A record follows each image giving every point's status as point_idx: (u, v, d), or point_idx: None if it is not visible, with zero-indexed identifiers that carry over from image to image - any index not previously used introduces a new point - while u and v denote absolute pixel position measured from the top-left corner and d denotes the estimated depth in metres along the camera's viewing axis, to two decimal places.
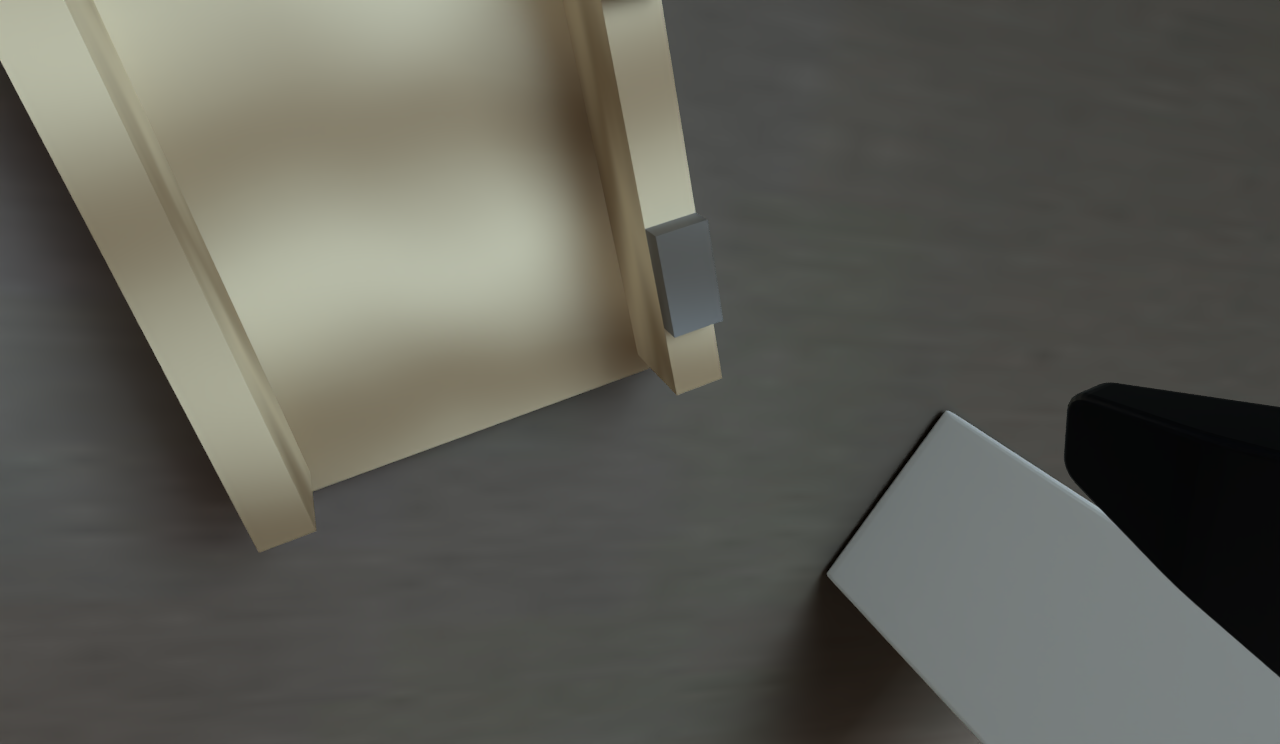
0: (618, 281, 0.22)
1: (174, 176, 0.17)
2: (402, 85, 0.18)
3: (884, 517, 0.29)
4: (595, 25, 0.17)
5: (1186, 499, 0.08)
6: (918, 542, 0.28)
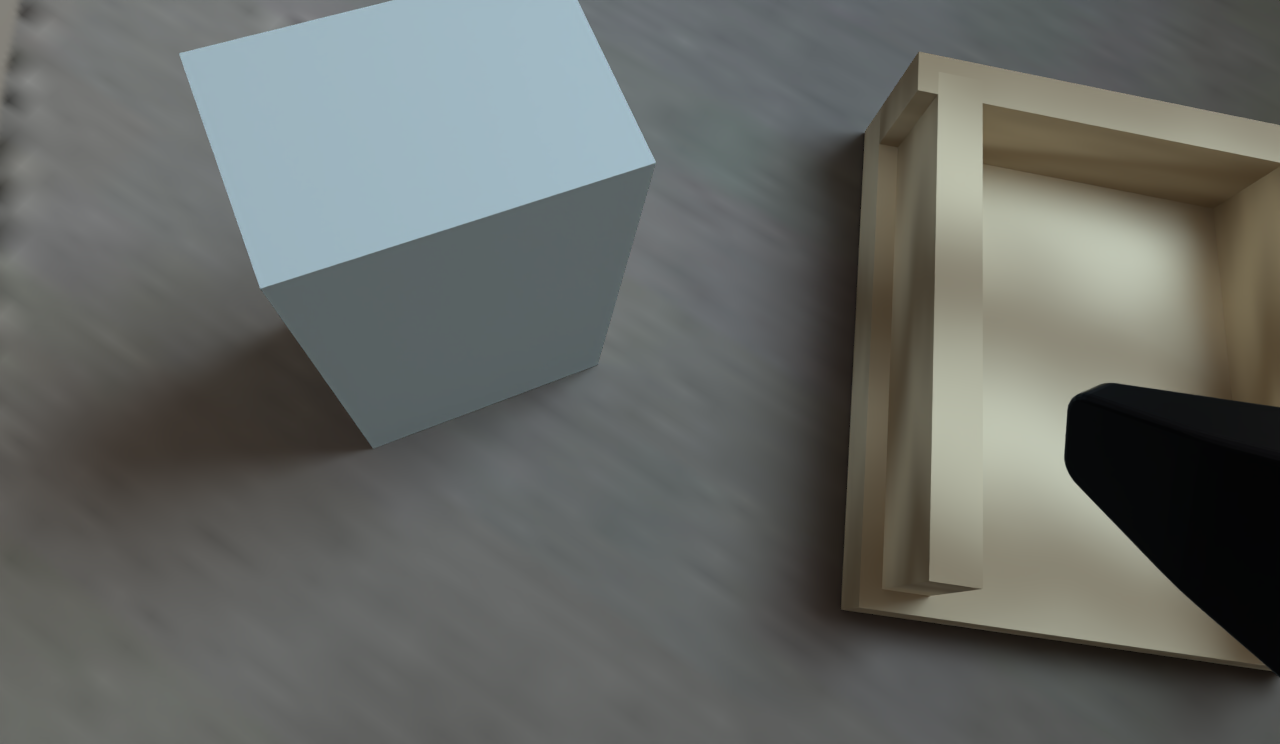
0: None
1: None
2: (1101, 327, 0.24)
3: None
4: None
5: (1187, 500, 0.08)
6: None
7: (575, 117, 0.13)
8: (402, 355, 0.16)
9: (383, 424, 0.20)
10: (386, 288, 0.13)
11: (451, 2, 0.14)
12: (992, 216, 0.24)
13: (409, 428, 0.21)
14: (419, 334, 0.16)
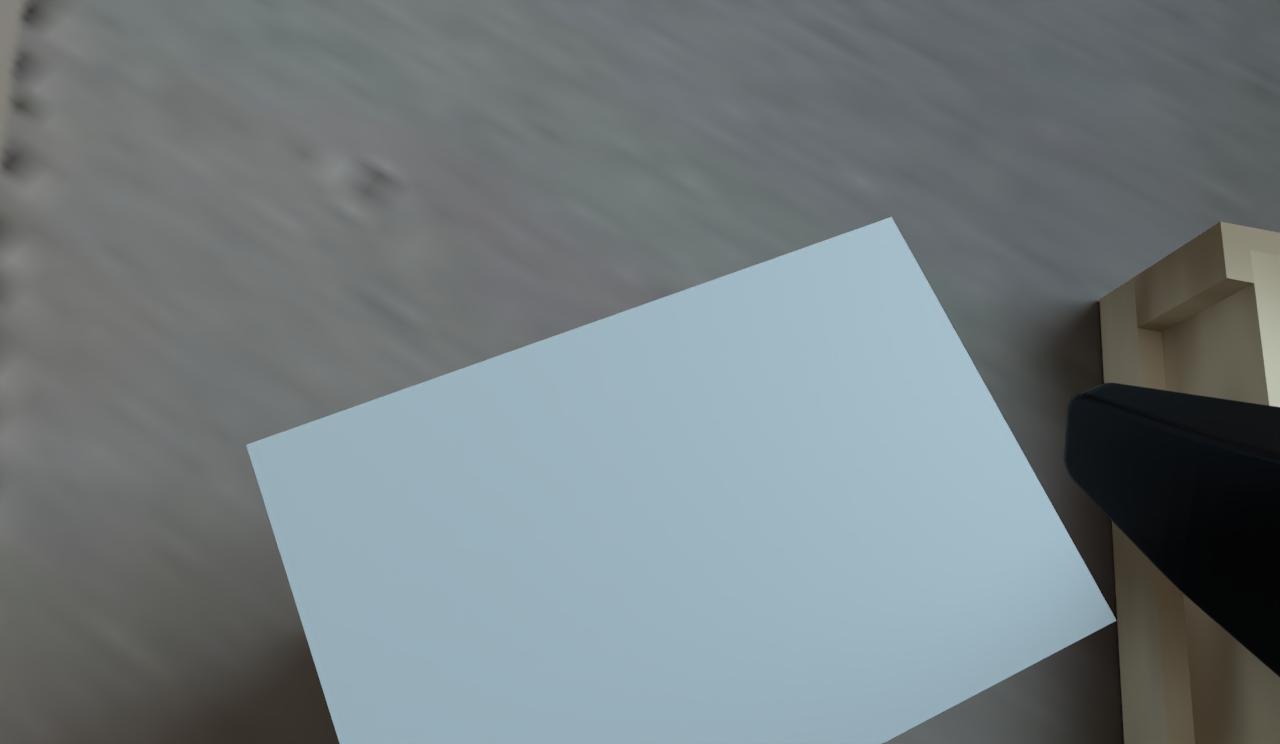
0: None
1: None
2: None
3: None
4: None
5: (1186, 499, 0.08)
6: None
7: (964, 532, 0.07)
8: None
9: None
10: None
11: (725, 308, 0.08)
12: None
13: None
14: None
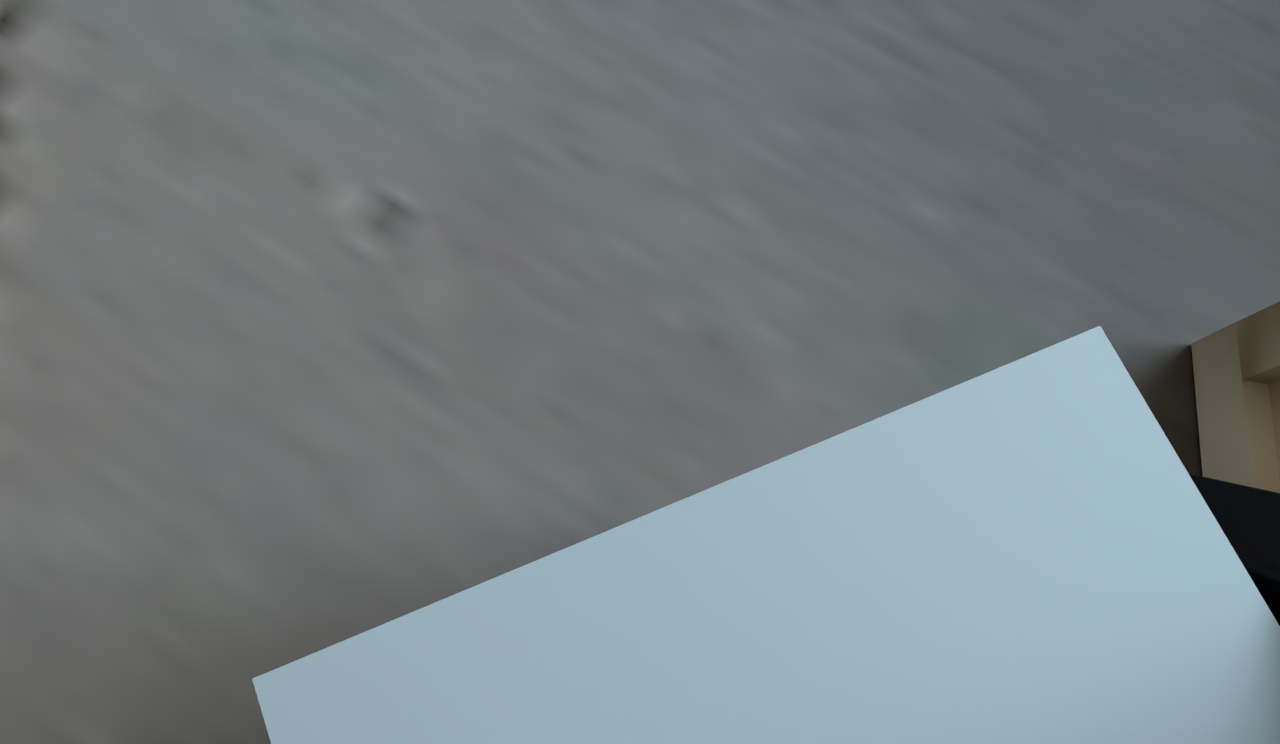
0: None
1: None
2: None
3: None
4: None
5: None
6: None
7: None
8: None
9: None
10: None
11: (894, 458, 0.06)
12: None
13: None
14: None
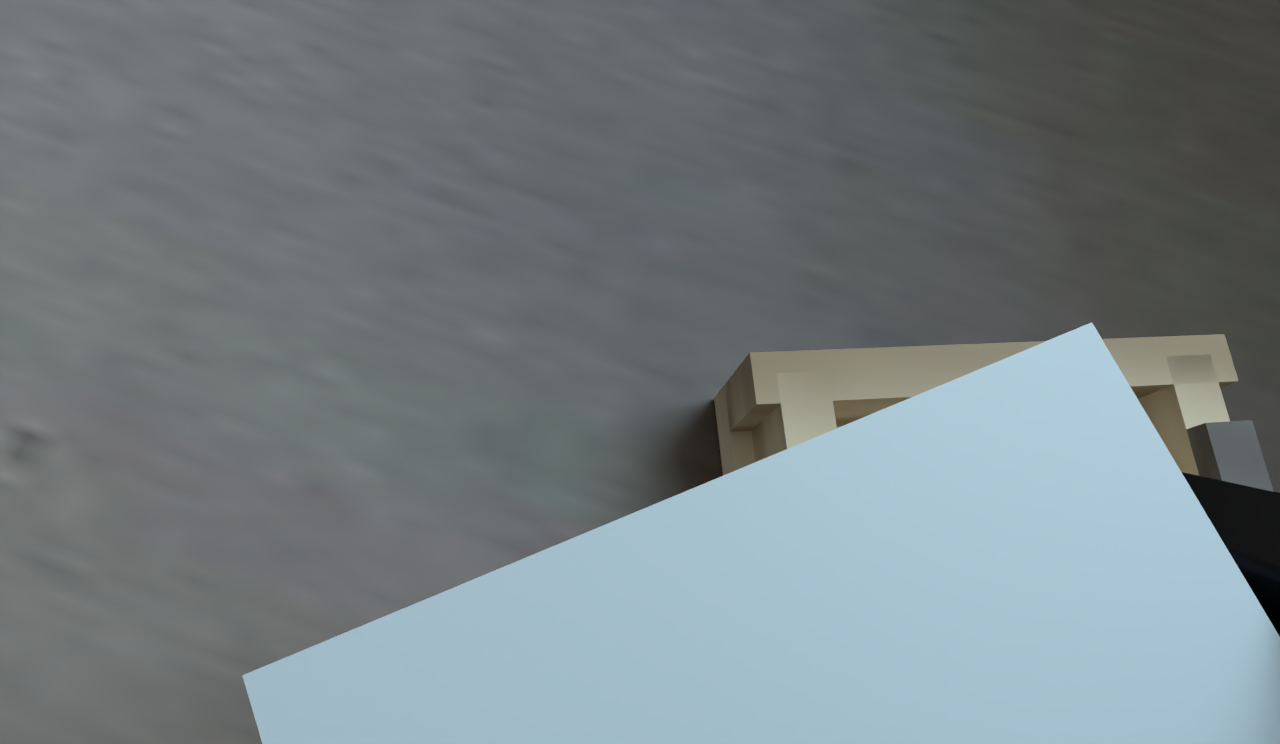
0: None
1: None
2: None
3: None
4: None
5: None
6: None
7: None
8: None
9: None
10: None
11: (886, 455, 0.06)
12: None
13: None
14: None
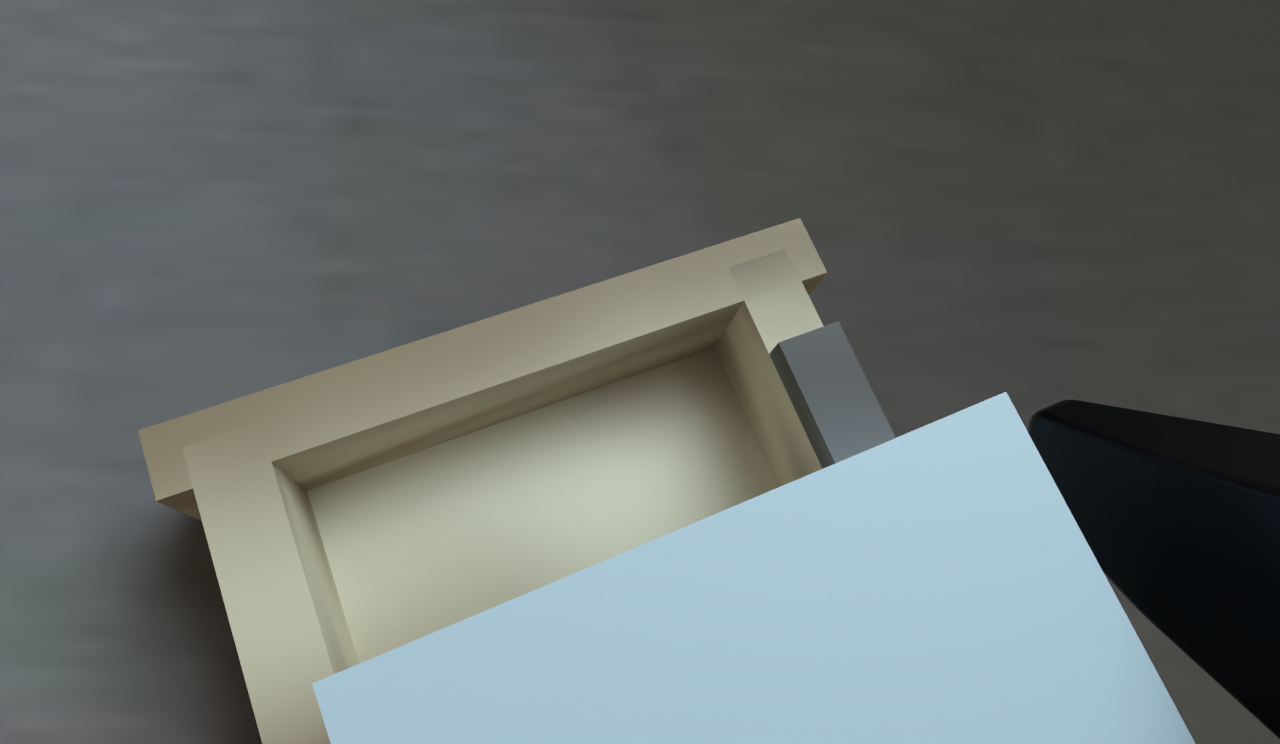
0: None
1: None
2: None
3: None
4: None
5: (1144, 520, 0.08)
6: None
7: None
8: None
9: None
10: None
11: (831, 504, 0.07)
12: (420, 541, 0.16)
13: None
14: None
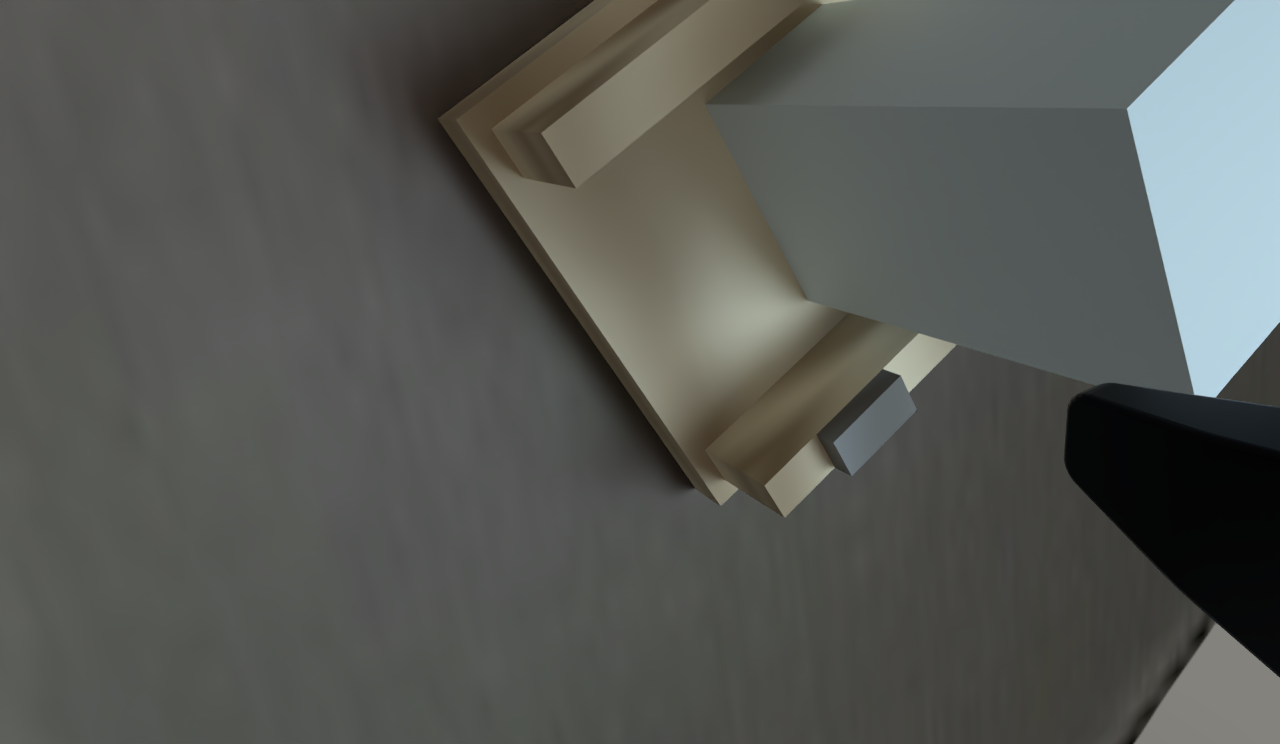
0: (760, 392, 0.23)
1: None
2: None
3: None
4: None
5: (1186, 499, 0.08)
6: None
7: (1230, 333, 0.14)
8: (912, 173, 0.16)
9: (759, 124, 0.19)
10: (1067, 196, 0.13)
11: None
12: None
13: (738, 141, 0.20)
14: (952, 196, 0.15)
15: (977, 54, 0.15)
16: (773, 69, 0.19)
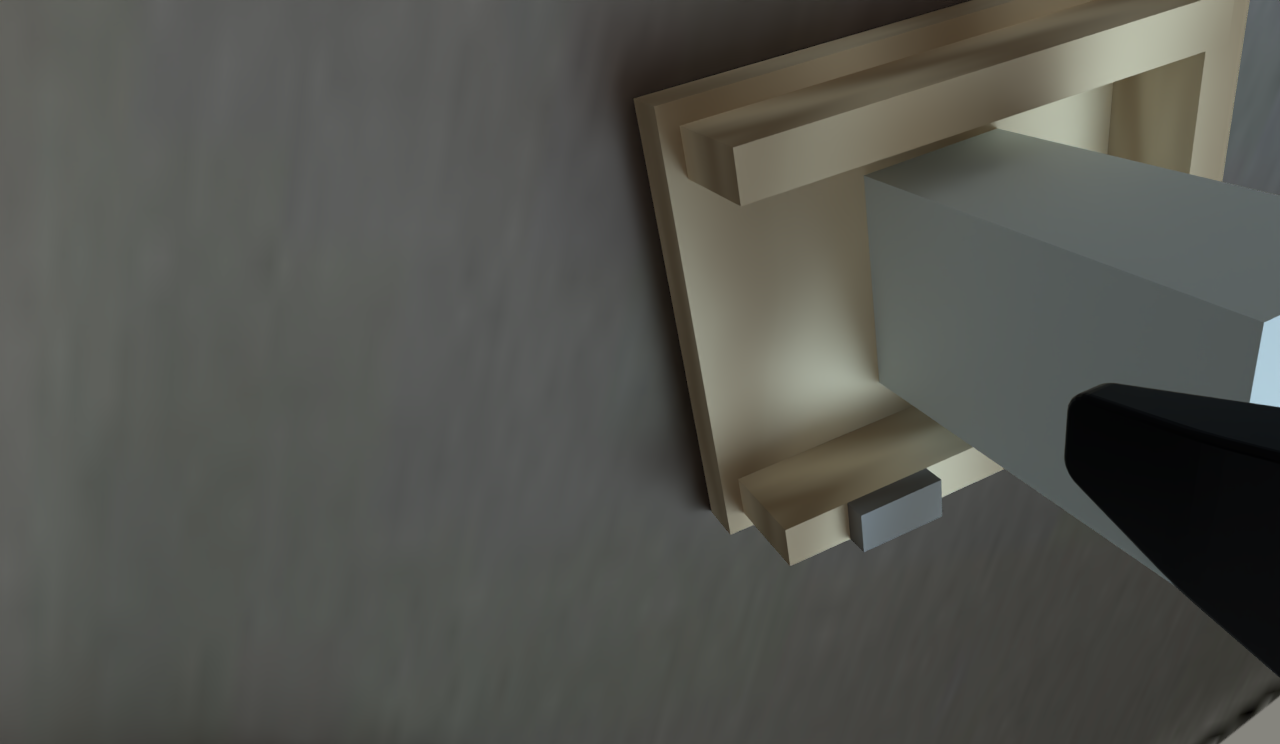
0: (805, 447, 0.24)
1: None
2: None
3: None
4: None
5: (1186, 499, 0.08)
6: None
7: None
8: (1036, 307, 0.17)
9: (908, 212, 0.20)
10: (1175, 377, 0.15)
11: None
12: (1062, 122, 0.23)
13: (880, 219, 0.21)
14: (1065, 339, 0.17)
15: (1136, 226, 0.16)
16: (937, 168, 0.21)
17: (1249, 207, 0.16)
